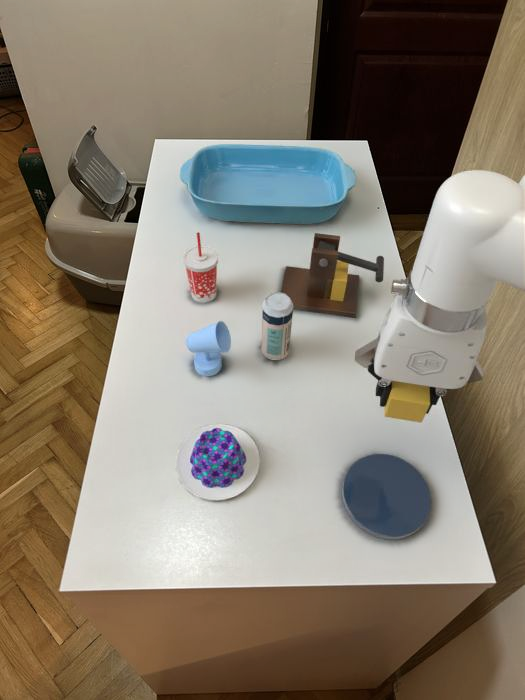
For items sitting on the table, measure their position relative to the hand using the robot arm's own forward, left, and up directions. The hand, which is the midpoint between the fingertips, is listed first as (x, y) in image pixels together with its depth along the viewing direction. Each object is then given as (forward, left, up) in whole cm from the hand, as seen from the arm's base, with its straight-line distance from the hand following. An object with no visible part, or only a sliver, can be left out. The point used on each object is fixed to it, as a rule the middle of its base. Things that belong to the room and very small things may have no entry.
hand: (404, 399), depth 66 cm
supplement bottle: (+18, -17, -15) cm, 29 cm away
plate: (-1, +6, -15) cm, 16 cm away
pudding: (+23, +5, -15) cm, 28 cm away
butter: (+10, -32, -14) cm, 36 cm away
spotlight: (+28, -12, -15) cm, 34 cm away
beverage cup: (+33, -28, -15) cm, 46 cm away
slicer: (+12, -32, -15) cm, 37 cm away
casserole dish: (+26, -59, -15) cm, 66 cm away
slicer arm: (+8, -32, -7) cm, 34 cm away
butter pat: (0, 0, 0) cm, 0 cm away
